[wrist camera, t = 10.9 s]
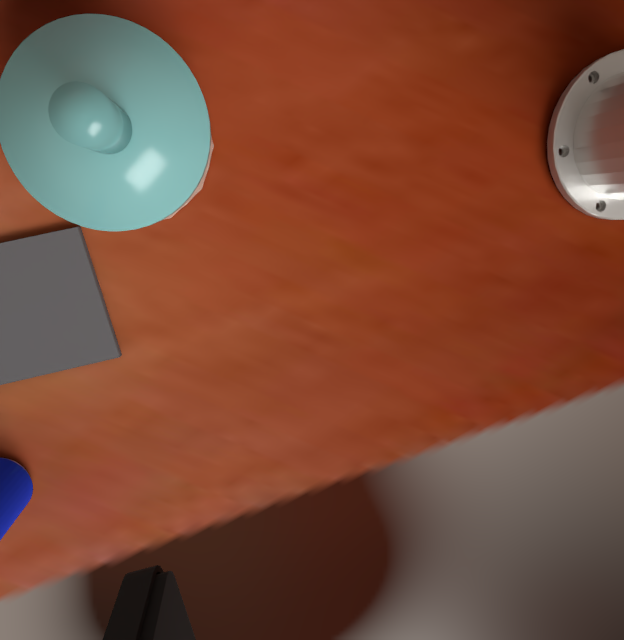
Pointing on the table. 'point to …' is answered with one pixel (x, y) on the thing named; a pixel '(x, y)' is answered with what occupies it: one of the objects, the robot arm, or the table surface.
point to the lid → (103, 122)
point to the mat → (51, 307)
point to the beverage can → (12, 492)
